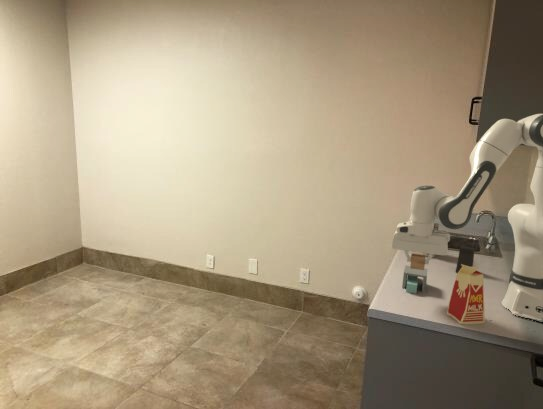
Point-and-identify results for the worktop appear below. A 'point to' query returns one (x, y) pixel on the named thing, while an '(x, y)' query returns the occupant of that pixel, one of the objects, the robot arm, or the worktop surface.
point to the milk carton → (467, 297)
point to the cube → (417, 261)
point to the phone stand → (465, 257)
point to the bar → (411, 284)
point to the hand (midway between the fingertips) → (417, 262)
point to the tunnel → (415, 273)
